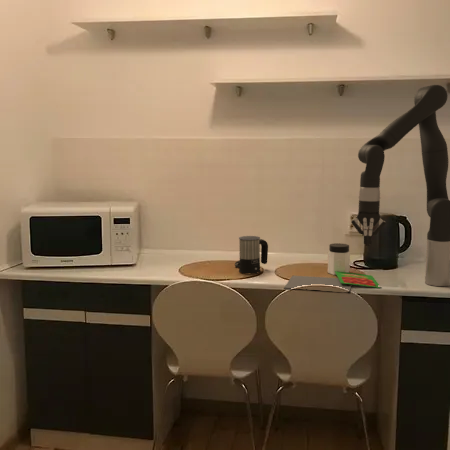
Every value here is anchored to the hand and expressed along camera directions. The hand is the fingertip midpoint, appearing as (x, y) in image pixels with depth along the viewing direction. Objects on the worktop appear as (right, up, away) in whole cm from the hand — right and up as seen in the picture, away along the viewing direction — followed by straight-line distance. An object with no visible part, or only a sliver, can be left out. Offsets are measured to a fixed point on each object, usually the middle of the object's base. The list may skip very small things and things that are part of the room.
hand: (367, 245), depth 219 cm
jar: (-6, -13, +26) cm, 30 cm away
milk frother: (-44, -12, +33) cm, 56 cm away
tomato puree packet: (-2, -15, +1) cm, 15 cm away
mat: (-17, -15, +7) cm, 24 cm away
